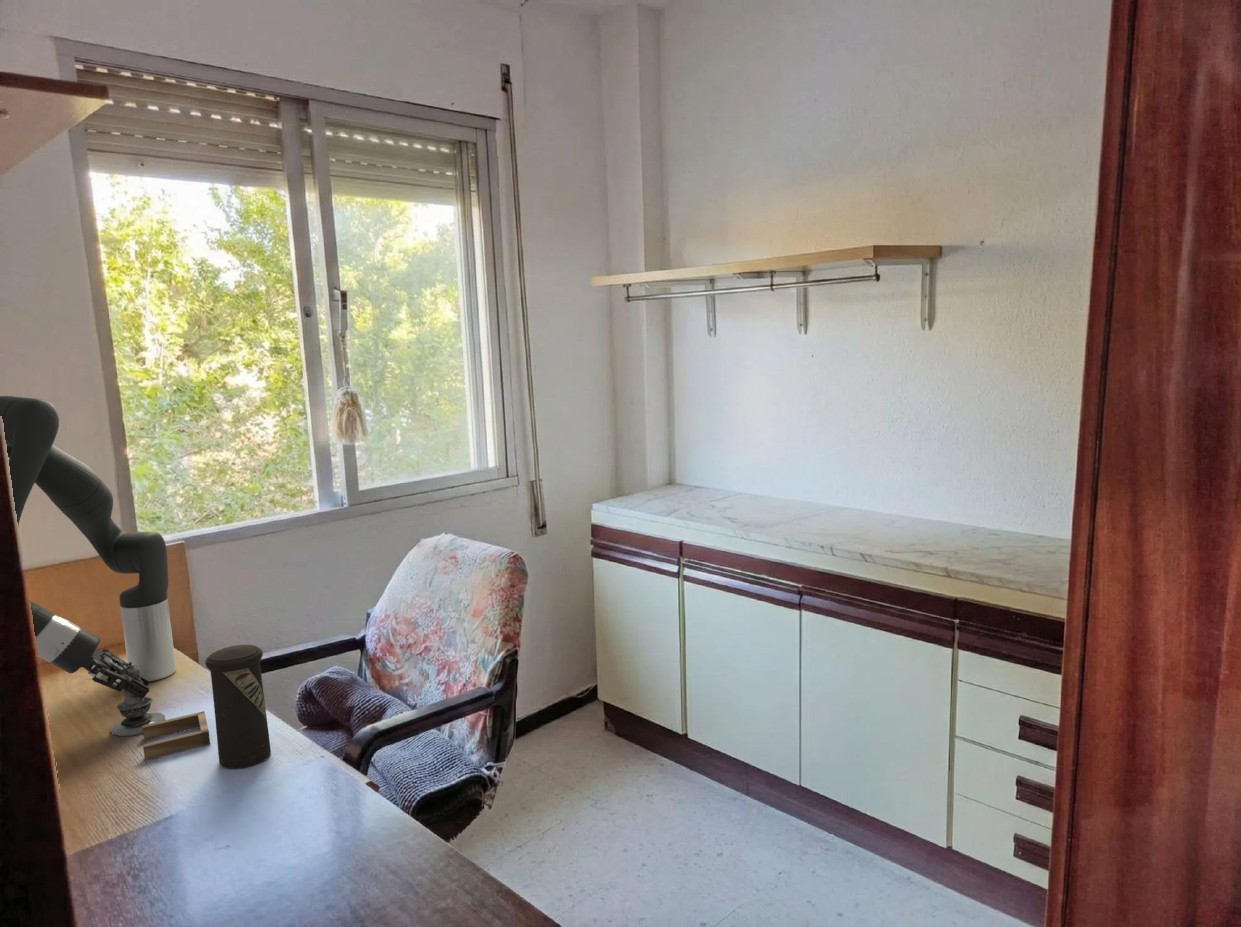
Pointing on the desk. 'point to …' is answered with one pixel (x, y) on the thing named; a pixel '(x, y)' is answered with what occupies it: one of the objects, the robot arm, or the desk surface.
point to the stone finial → (134, 702)
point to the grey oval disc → (135, 730)
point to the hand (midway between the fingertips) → (145, 689)
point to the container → (239, 706)
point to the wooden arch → (177, 742)
